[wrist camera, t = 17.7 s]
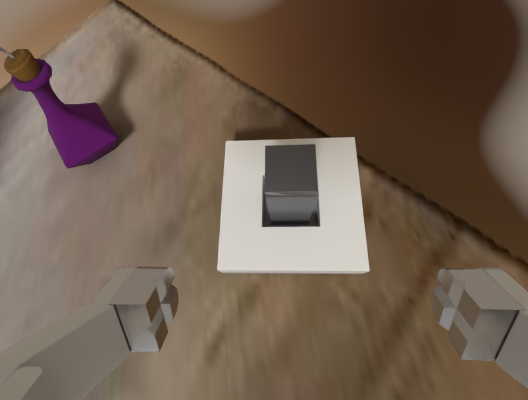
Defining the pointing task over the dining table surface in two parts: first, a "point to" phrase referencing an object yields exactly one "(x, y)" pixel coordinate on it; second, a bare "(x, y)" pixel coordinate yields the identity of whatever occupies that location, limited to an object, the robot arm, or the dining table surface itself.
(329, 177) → the socket block
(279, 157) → the plug
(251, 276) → the dining table surface
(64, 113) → the perfume bottle
